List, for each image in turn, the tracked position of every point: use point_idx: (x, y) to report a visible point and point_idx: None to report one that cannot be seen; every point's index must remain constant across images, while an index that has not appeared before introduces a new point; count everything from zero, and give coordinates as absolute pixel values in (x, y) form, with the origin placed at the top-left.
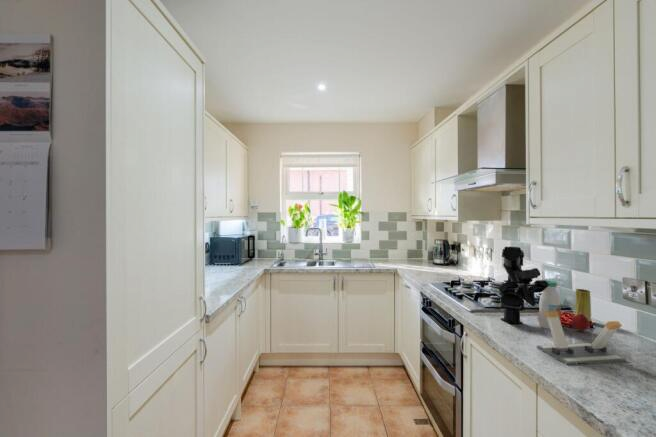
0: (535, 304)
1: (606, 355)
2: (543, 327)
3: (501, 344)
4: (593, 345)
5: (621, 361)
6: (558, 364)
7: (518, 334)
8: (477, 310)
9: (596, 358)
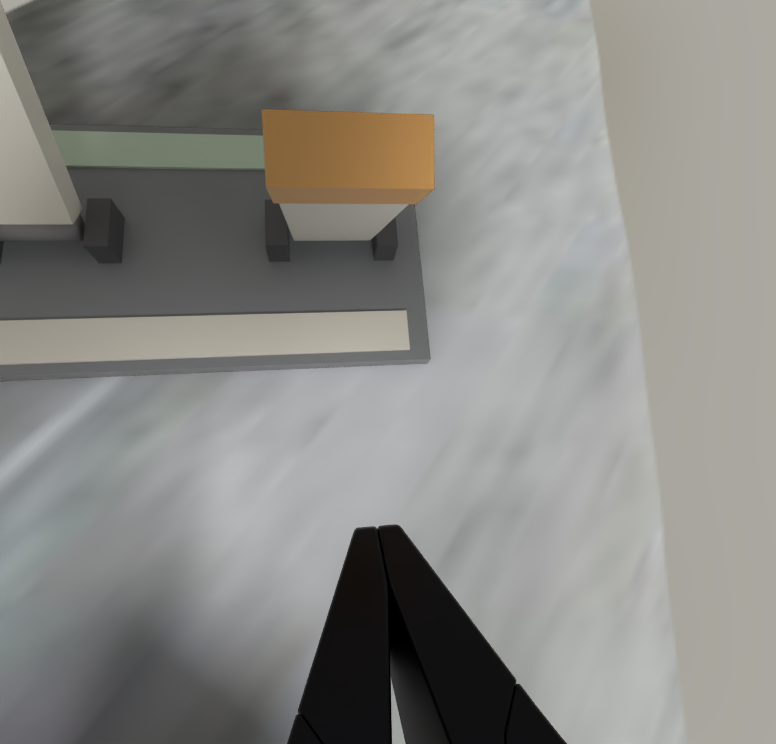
0: (357, 529)
1: None
2: None
3: (645, 436)
4: (68, 193)
5: None
6: (446, 155)
7: None
8: None
9: (174, 144)
